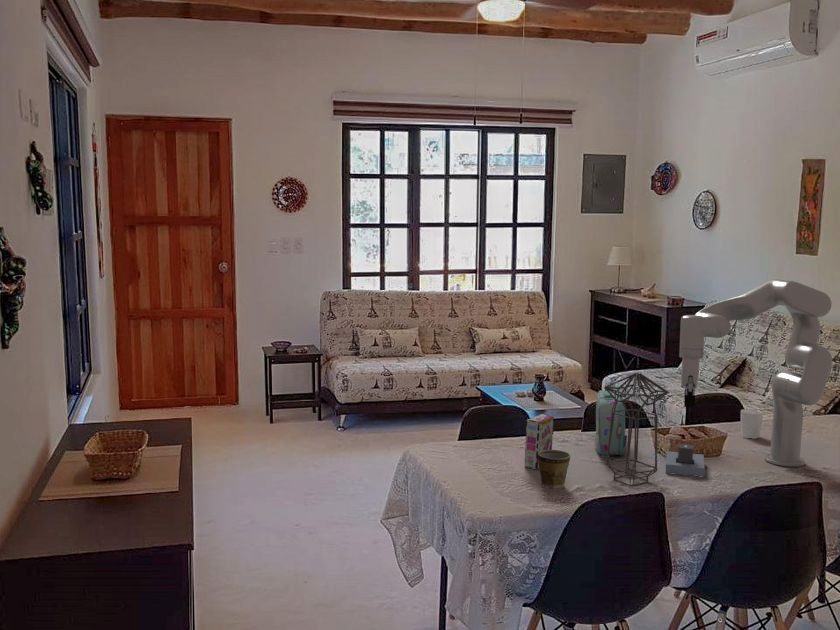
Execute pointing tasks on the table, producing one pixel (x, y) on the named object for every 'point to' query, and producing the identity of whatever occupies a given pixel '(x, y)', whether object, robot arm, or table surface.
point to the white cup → (751, 423)
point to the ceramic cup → (553, 467)
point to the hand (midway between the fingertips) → (689, 403)
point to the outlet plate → (685, 465)
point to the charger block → (685, 454)
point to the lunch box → (603, 425)
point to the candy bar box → (538, 438)
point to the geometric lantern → (643, 379)
